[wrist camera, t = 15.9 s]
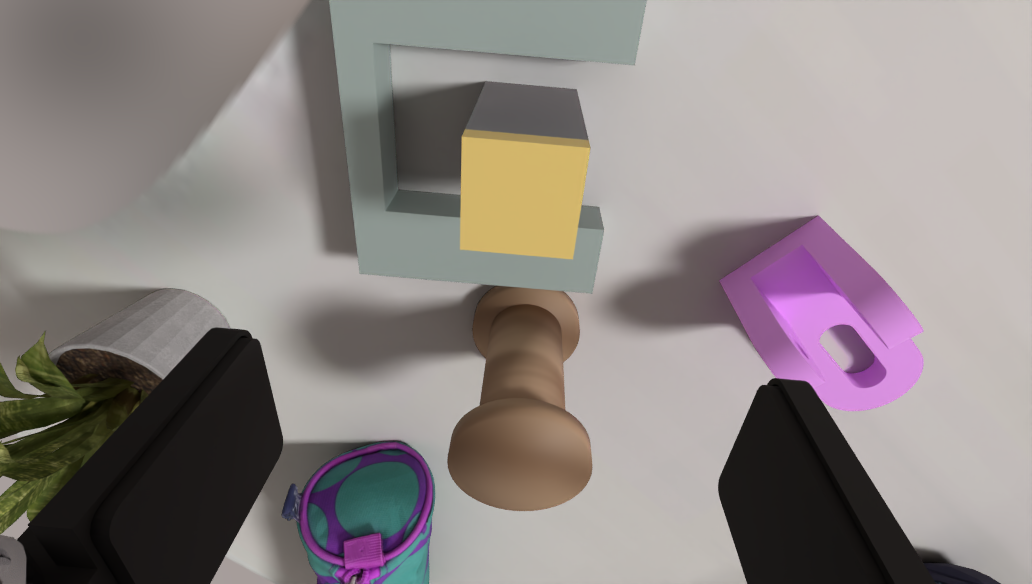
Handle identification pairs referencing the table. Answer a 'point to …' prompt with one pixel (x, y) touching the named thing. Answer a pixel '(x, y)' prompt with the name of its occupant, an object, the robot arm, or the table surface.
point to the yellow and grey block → (523, 171)
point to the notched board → (371, 134)
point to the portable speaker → (956, 574)
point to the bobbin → (522, 405)
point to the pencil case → (367, 516)
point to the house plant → (90, 392)
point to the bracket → (825, 317)
